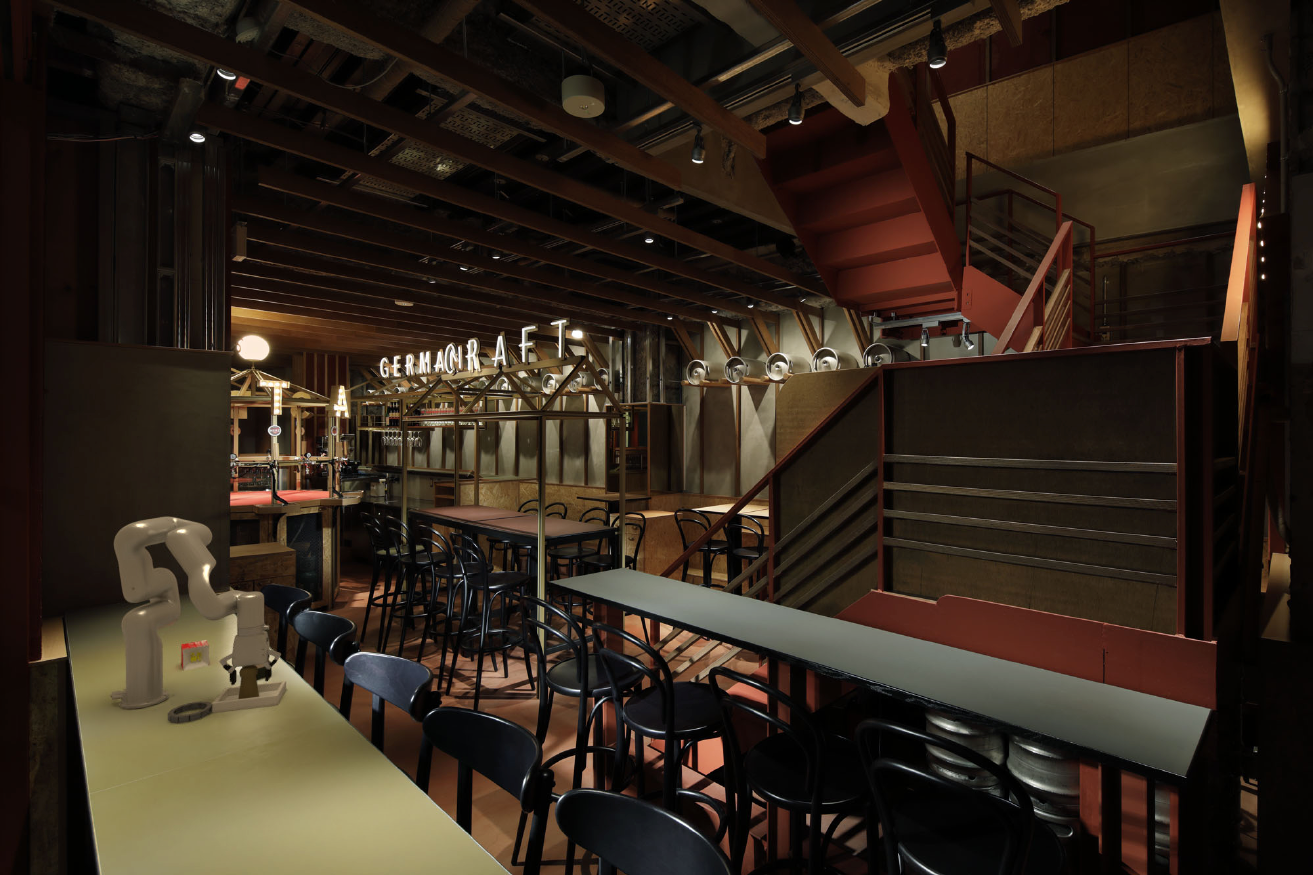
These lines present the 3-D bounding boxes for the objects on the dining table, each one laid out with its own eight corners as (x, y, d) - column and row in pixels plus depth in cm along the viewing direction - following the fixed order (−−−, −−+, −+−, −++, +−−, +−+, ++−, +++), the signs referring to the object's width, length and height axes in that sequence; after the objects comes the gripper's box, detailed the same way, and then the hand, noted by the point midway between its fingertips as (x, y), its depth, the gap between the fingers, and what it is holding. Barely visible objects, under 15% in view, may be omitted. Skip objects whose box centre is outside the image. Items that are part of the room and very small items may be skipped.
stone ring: (162, 725, 191) (162, 718, 191) (176, 710, 201) (176, 704, 201) (205, 719, 194) (205, 713, 194) (216, 705, 205) (216, 699, 205)
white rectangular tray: (212, 712, 199) (212, 703, 199) (225, 696, 212) (225, 687, 212) (277, 704, 205) (277, 695, 205) (286, 689, 217) (286, 680, 217)
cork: (263, 695, 211) (262, 662, 211) (253, 703, 205) (253, 669, 205) (243, 696, 211) (243, 663, 211) (233, 703, 205) (233, 670, 205)
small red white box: (183, 670, 235) (183, 649, 235) (181, 664, 241) (181, 644, 241) (209, 665, 240) (209, 644, 240) (206, 659, 246) (206, 639, 246)
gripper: (283, 624, 215) (283, 674, 215) (223, 629, 209) (223, 680, 209) (277, 630, 207) (278, 682, 208) (216, 636, 202) (216, 689, 202)
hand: (250, 681), depth 208 cm, fingers open, 9 cm apart
